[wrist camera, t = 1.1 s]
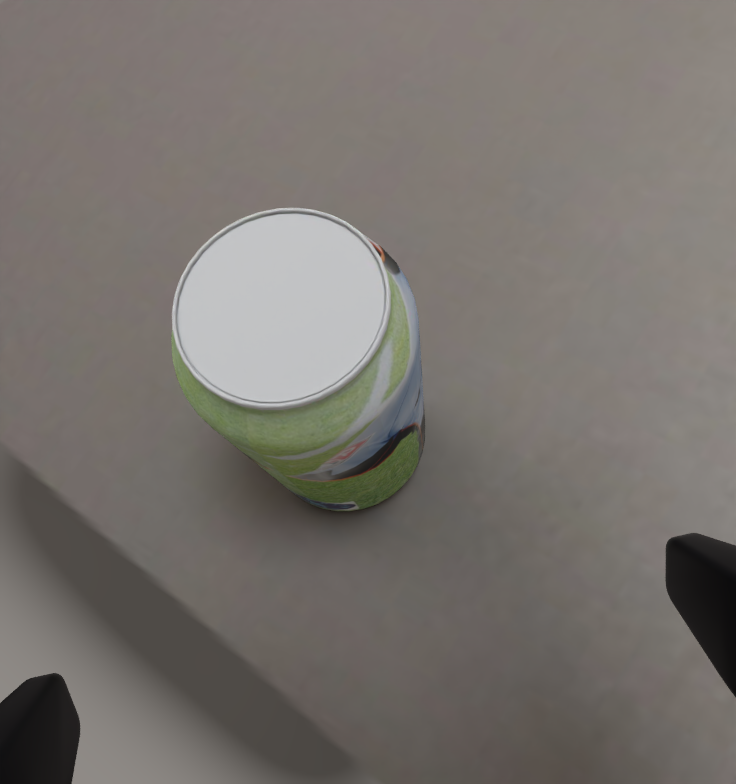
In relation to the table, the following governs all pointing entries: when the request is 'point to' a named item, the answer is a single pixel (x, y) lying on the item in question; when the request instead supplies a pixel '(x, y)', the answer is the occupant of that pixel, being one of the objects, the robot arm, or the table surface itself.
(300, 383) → the beverage can
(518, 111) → the table surface
